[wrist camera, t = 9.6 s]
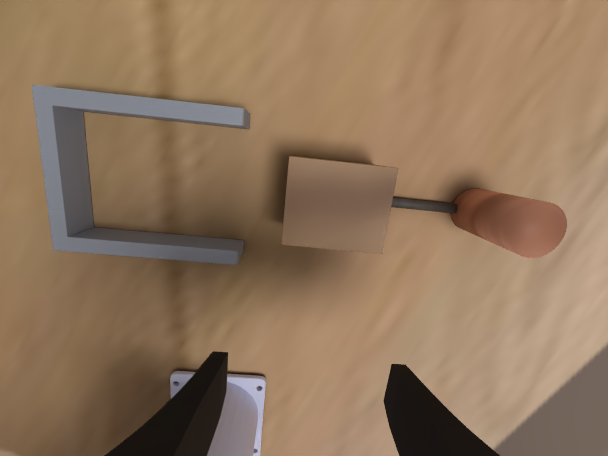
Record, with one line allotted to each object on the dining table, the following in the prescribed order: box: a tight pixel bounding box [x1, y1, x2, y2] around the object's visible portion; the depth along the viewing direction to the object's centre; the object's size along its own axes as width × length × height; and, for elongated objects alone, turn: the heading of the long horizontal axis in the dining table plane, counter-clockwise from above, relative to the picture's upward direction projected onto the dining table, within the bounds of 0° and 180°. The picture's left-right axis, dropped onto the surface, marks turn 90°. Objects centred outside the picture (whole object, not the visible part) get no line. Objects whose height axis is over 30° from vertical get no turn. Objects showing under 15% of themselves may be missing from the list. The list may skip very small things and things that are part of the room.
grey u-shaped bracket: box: [32, 85, 250, 265], centre depth 19 cm, size 10×12×2 cm
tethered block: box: [281, 156, 567, 258], centre depth 18 cm, size 5×16×6 cm, turn 84°
